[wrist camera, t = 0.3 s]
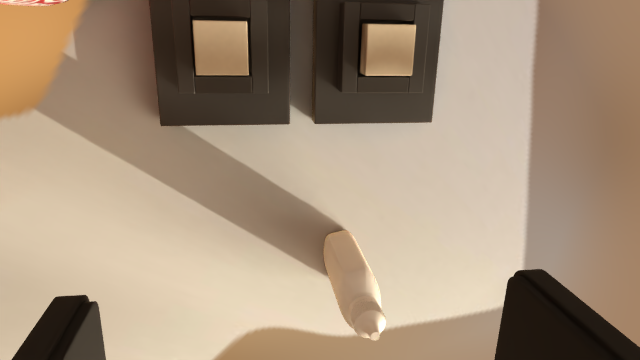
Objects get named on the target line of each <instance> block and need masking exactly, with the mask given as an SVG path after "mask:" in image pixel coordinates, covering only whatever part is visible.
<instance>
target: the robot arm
mask: <svg viewBox="0 0 640 360" xmlns="http://www.w3.org/2000/svg"><path fill="white" fill-rule="evenodd" d="M12 360H106V357H105V350H104V342H103V335H102V328H101V320H100V313H99V307H98V304H97V302H96V301H94V302H89V299H88V297H87V296H86V295H77V296H60V297H55V298H54V299H53V301H52V302H51V304H50V305H49V307H48V308H47V309H46V311H45V312H44V314H43V315H42V317H41V318H40V319H39V321H38V322H37V324H36V325H35V327H34V328H33V330H32V331H31V332H30V334H29V335H28V337H27V338H26V340H25V341H24V343H23V344H22V345H21V347H20V348H19V350H18V351H17V353H16V354H15V356H14V357H13V358H12ZM495 360H640V347H638V346H637V345H636V344H635V343H633V342H632V341H631V340H630V339H628V338H627V337H626V336H625V335H624V334H622V333H621V332H620V331H619V330H617V329H616V328H615V327H614V326H612V325H611V324H610V323H608V322H607V321H606V320H605V319H604V318H603V317H601V316H600V315H599V314H598V313H596V312H595V311H594V310H592V309H591V308H590V307H589V306H588V305H586V304H585V303H584V302H583V301H581V300H580V299H579V298H578V297H576V296H575V295H574V294H573V293H572V292H570V291H569V290H568V289H567V288H565V287H564V286H563V285H562V284H561V283H559V282H558V281H557V280H556V279H554V278H553V277H552V276H551V275H549V274H548V273H547V272H546V271H544V270H542V269H535V270H519V271H517V272H516V273H515V274H514V277H511V278H510V279H509V280H508V283H507V289H506V295H505V301H504V307H503V313H502V318H501V324H500V331H499V337H498V342H497V348H496V354H495Z"/></svg>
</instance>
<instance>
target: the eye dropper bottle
mask: <svg viewBox="0 0 640 360" xmlns="http://www.w3.org/2000/svg"><path fill="white" fill-rule="evenodd" d="M323 256H324V263H325V267H326V270H327V273H328V276H329V279H330V282H331V285H332V288H333V291H334V294H335V297H336V299H337V302H338V305H339V308H340V311H341V313H342V315H343V317H344V319H345V320H346V322H347V323H348V324H349V326H351V327H352V328H353V329H354V330H355V332H356V333H357V334H358V335H360V336H361V337H365V338H371V339H372V340H378V339H379V338H380V333H381V332H382V330H383V329H384V327H385V324H386V319H385V316H384V314H383V312H382V310H381V296H380V291H379V287H378V284H377V282H376V280H375V277H374V275H373V273H372V271H371V269H370V267H369V265H368V264H367V262H366V260H365V258H364V256H363V254H362V252H361V250H360V248H359V246H358V244H357V242H356V240H355V239H354V237H353V235H352V234H351V233H350V232H349V231H347V230H343V231H339V232H334V233H330V234H329V235H327V237H326V239H325V243H324V250H323Z"/></svg>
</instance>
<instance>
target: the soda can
mask: <svg viewBox="0 0 640 360" xmlns="http://www.w3.org/2000/svg"><path fill="white" fill-rule="evenodd" d="M66 1H68V0H0V4H10V5H25V6H49V5H53V4H58V3H62V2H66Z"/></svg>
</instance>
